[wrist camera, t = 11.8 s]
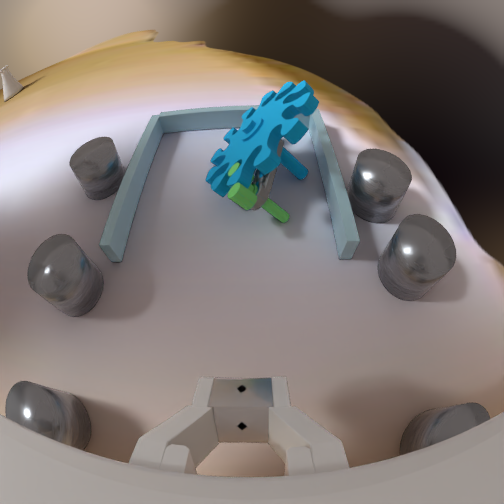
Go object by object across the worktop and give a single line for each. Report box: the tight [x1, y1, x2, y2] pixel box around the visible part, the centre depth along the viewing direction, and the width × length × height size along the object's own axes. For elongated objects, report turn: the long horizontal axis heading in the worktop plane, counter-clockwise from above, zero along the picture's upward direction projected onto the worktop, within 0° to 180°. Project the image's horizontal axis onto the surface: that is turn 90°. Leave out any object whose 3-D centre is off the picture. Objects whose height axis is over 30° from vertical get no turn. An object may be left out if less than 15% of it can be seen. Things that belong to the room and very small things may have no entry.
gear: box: [206, 80, 319, 223], centre depth 19 cm, size 11×6×10 cm
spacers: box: [6, 137, 490, 456], centre depth 15 cm, size 26×24×4 cm
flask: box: [0, 65, 23, 102], centre depth 43 cm, size 7×7×10 cm
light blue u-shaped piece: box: [99, 105, 360, 262], centre depth 21 cm, size 16×15×2 cm
